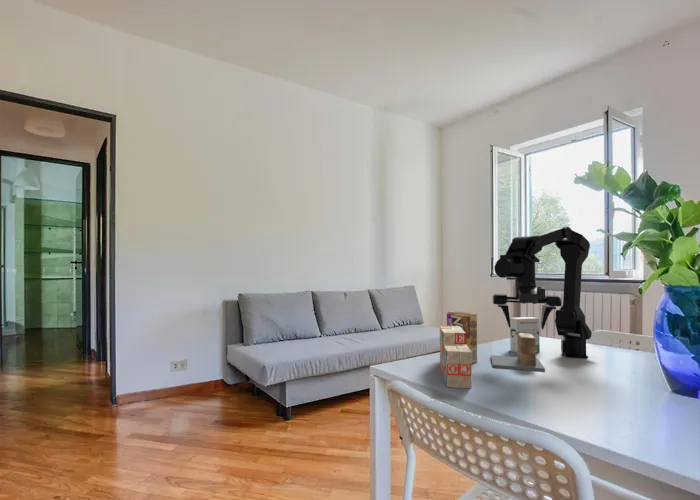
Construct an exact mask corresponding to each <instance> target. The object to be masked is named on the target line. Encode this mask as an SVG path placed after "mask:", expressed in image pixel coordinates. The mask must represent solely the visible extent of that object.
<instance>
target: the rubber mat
mask: <svg viewBox="0 0 700 500" xmlns="http://www.w3.org/2000/svg"><path fill="white" fill-rule="evenodd" d="M490 360H491V365H492V368H496V369H508V370H509V369H510V370H521V371H522V370H523V371H536V372H545V371H546V368H545V366H544V365H543V363H541V361H540V359H539V357H536V366H533V365H521V363H520V361H519V360H518V356H509V355H508V356H507V355H495V354H493V355H492V354H491V355H490Z"/></svg>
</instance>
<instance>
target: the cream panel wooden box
mask: <svg viewBox="0 0 700 500" xmlns="http://www.w3.org/2000/svg"><path fill="white" fill-rule="evenodd" d="M536 356H537V352H536V339H535V337H534V336H533V335H532V334H525V333H518V353H517V357H518V360H519V361H520V363H521V365H533V366H536V358H537V357H536Z"/></svg>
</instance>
